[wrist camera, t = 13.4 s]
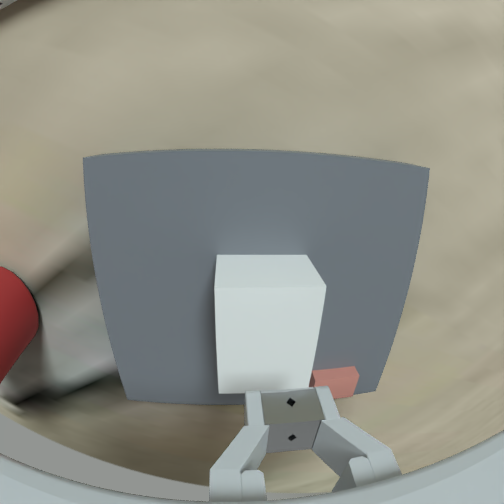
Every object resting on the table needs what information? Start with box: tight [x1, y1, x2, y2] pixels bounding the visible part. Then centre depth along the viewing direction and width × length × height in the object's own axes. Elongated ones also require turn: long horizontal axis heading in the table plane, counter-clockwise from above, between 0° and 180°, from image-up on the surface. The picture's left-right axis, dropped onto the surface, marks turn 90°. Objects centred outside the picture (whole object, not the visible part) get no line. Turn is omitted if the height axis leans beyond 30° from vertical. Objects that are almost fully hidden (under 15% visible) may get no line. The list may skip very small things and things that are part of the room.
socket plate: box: [83, 149, 430, 405], centre depth 17 cm, size 18×16×4 cm
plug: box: [214, 255, 326, 394], centre depth 16 cm, size 4×8×6 cm, turn 178°
